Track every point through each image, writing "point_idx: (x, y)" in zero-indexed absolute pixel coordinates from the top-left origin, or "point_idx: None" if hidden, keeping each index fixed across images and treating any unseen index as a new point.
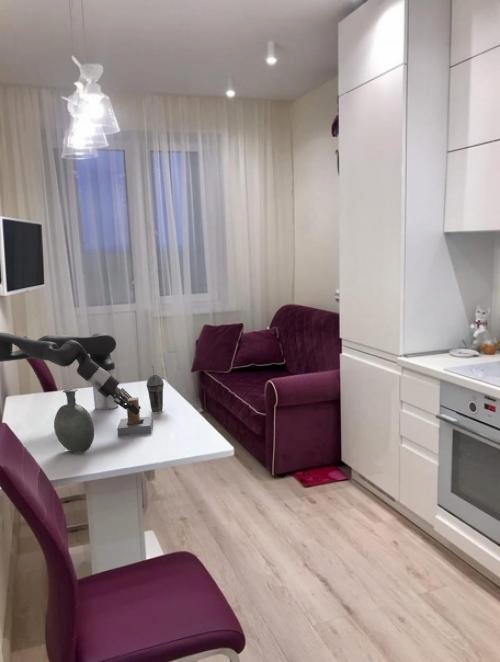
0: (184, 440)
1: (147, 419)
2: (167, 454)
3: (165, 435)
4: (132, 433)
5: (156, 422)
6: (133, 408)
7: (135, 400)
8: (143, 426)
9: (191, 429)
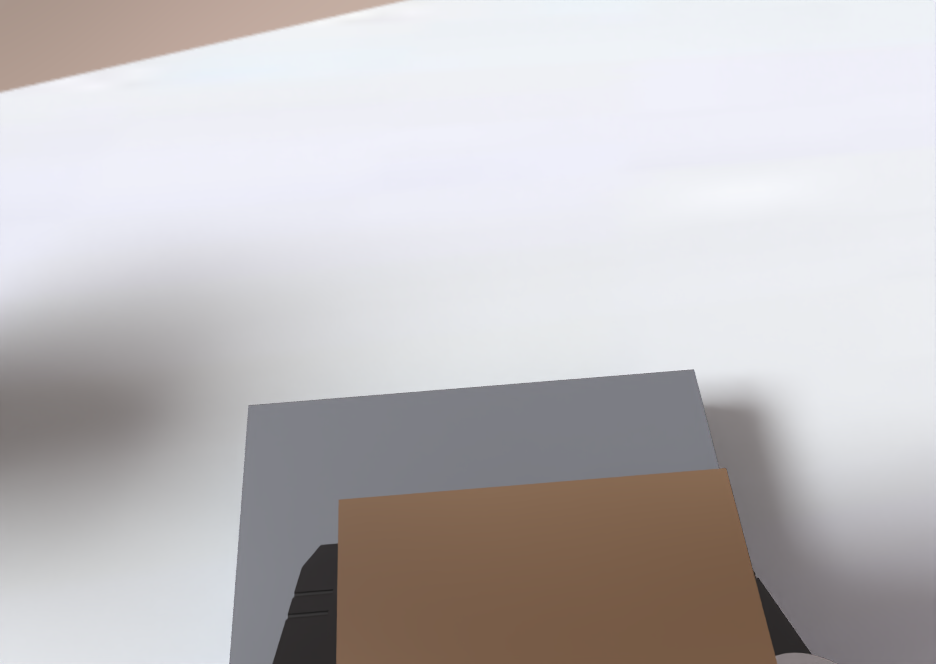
0: (869, 94)
1: (392, 453)
2: None
3: (734, 251)
4: None
5: (239, 399)
6: (777, 614)
7: (736, 538)
8: (716, 463)
9: (572, 67)
